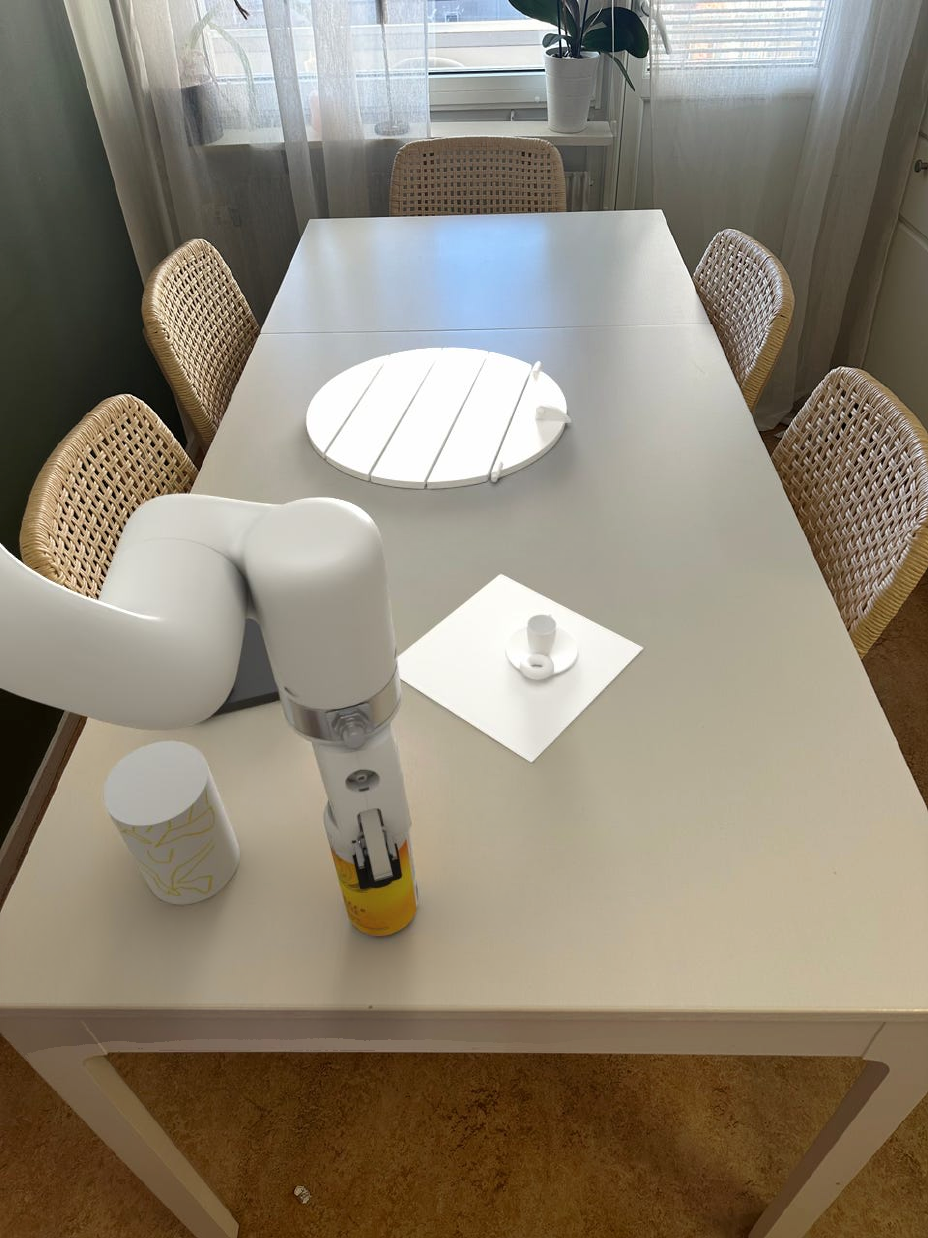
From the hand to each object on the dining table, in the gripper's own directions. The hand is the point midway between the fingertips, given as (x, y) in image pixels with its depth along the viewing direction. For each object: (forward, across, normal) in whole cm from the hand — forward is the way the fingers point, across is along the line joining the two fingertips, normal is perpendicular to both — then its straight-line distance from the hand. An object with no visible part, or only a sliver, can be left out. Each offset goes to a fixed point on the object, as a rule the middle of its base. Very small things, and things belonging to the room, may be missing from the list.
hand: (370, 841), depth 66 cm
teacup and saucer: (+10, +24, -20) cm, 33 cm away
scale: (+10, +33, +8) cm, 35 cm away
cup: (+10, +9, +15) cm, 21 cm away
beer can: (+10, 0, 0) cm, 10 cm away
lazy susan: (+10, +76, -26) cm, 81 cm away
